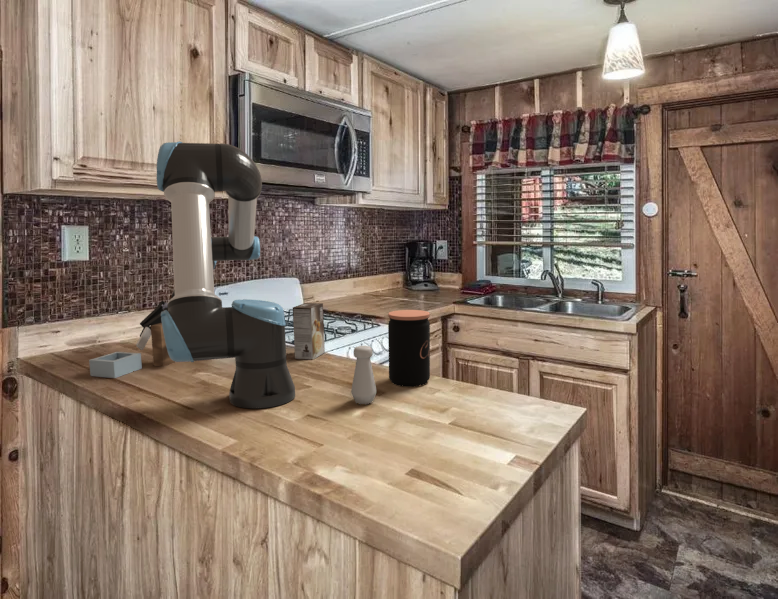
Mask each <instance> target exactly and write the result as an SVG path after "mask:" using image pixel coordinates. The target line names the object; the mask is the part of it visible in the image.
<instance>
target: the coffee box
mask: <svg viewBox="0 0 778 599" xmlns="http://www.w3.org/2000/svg"><path fill="white" fill-rule="evenodd" d="M292 323H293V324H292V325H293V338H294V339H293V343H294V345H293V346H294V359H297V360H311V359H313V360H315V359H317V358H318V357H319V356H321V355H323V354H325V353H326V351H325V350H326V348H325V324H324V323H325V322H324V303H322V302H321V303H320V302H319V303H317V302H313V303H312V302H304V303H302V304H298V305H295V306H294V307H292Z"/></svg>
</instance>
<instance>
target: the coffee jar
mask: <svg viewBox="0 0 778 599" xmlns="http://www.w3.org/2000/svg"><path fill="white" fill-rule="evenodd" d="M387 315H388V318H389V321H388V325H387V326H388V327H387V330H388V335H387V336H388V338H387V339H388V340H387V341H388V378H389V380H390V382H391V383H392V385H395V386H399V387H406V388H413V387H414V386H415V387H420V386H419V385H421V386H424V385H426V384H427V383H428V381H429V380H430V377H431V334H430V333H431V332H430V331H431V323H430V320H429V318H430V317H431V316H430V315H431V314H430V312H429V311H426V310H420V309H399V310H398V309H397V310H392V311H389V312H388V314H387ZM423 384H424V385H423Z"/></svg>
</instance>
